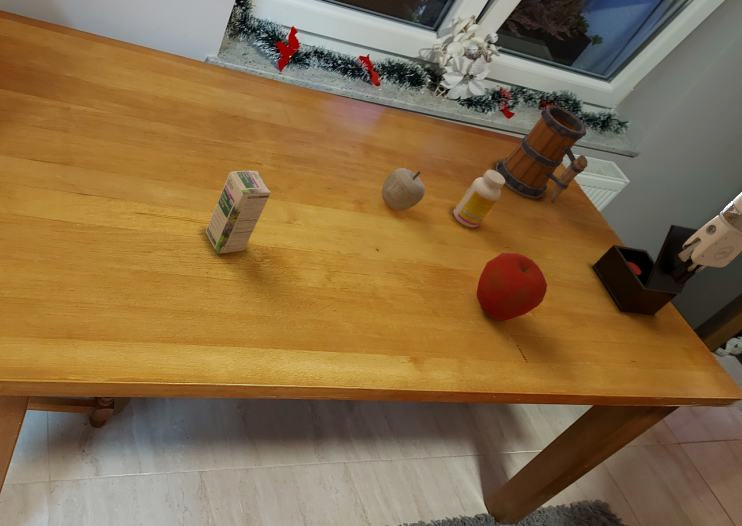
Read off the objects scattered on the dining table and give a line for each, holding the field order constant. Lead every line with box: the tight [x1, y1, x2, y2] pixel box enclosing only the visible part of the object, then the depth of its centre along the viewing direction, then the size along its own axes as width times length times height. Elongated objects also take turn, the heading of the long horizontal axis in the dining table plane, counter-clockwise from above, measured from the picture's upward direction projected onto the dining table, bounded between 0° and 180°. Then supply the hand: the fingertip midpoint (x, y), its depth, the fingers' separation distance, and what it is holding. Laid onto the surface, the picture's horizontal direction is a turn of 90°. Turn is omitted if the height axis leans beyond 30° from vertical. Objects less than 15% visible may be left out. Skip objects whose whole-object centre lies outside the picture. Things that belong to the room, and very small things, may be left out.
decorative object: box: [381, 167, 426, 211], centre depth 147 cm, size 9×9×10 cm
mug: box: [494, 104, 588, 204], centre depth 172 cm, size 19×14×20 cm
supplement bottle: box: [453, 169, 505, 228], centre depth 153 cm, size 7×7×13 cm
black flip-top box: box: [591, 244, 679, 316], centre depth 158 cm, size 14×11×8 cm
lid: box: [645, 224, 699, 294], centre depth 148 cm, size 15×11×1 cm
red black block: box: [628, 262, 641, 277], centre depth 159 cm, size 4×4×5 cm
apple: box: [476, 252, 548, 322], centre depth 132 cm, size 12×12×14 cm
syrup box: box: [205, 170, 272, 255], centre depth 118 cm, size 6×6×14 cm
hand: (675, 279), depth 148 cm, fingers closed
